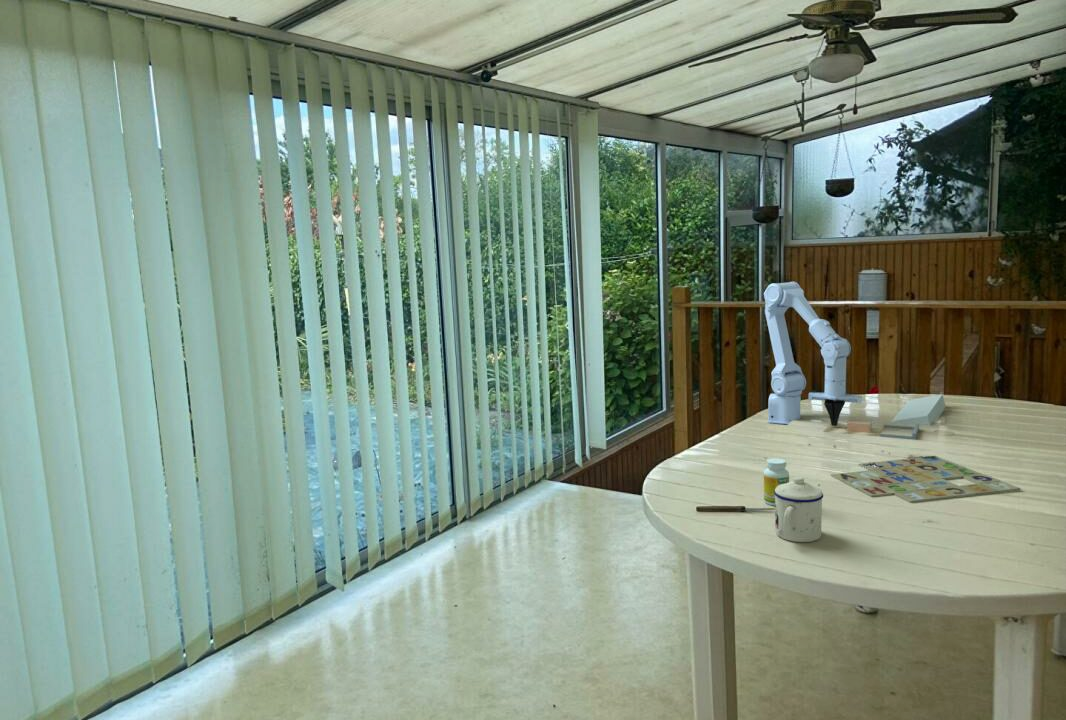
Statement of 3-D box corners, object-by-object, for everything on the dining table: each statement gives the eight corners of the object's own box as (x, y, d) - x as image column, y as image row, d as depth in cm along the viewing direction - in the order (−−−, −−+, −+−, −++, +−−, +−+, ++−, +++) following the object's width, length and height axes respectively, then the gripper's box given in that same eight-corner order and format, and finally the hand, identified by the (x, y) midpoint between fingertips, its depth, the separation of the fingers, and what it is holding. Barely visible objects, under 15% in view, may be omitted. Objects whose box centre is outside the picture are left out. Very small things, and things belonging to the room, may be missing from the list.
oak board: (823, 436, 217) (823, 431, 217) (830, 427, 227) (830, 422, 227) (879, 441, 209) (879, 436, 209) (884, 431, 220) (884, 426, 219)
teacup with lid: (782, 522, 153) (782, 468, 152) (827, 531, 148) (829, 474, 146) (762, 542, 144) (762, 485, 142) (810, 552, 139) (811, 492, 137)
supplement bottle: (773, 496, 169) (774, 455, 168) (794, 502, 165) (794, 460, 163) (758, 502, 166) (758, 460, 164) (778, 508, 162) (779, 465, 160)
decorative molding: (895, 436, 225) (931, 431, 219) (891, 421, 225) (927, 415, 219) (913, 413, 252) (946, 408, 246) (910, 399, 252) (942, 394, 246)
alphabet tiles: (934, 459, 193) (934, 454, 193) (1021, 493, 166) (1021, 487, 166) (817, 471, 188) (817, 466, 187) (887, 508, 161) (887, 502, 160)
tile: (846, 430, 216) (847, 422, 216) (850, 426, 221) (850, 418, 221) (869, 432, 213) (869, 424, 213) (872, 428, 218) (872, 419, 218)
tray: (879, 441, 209) (879, 430, 209) (884, 431, 220) (884, 421, 219) (915, 444, 205) (915, 433, 204) (918, 434, 215) (919, 423, 214)
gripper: (806, 381, 219) (806, 425, 221) (859, 383, 212) (858, 430, 214) (811, 376, 225) (810, 420, 227) (863, 379, 218) (862, 424, 220)
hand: (834, 425), depth 221 cm, fingers closed
